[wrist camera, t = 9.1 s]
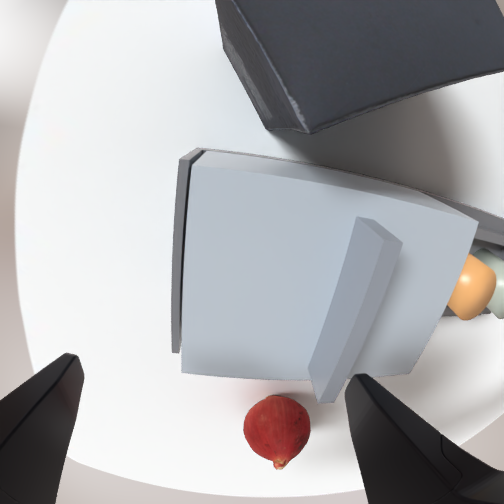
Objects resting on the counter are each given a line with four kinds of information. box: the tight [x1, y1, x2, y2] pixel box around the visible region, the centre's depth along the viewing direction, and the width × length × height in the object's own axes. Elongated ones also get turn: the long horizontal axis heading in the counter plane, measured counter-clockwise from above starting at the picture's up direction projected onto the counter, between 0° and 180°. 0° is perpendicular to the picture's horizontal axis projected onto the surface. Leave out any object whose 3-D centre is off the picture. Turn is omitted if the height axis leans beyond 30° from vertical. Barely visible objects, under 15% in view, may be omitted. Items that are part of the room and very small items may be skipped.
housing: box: [171, 148, 504, 353], centre depth 17 cm, size 28×10×6 cm, turn 82°
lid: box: [182, 151, 479, 403], centre depth 14 cm, size 14×10×8 cm
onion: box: [243, 395, 311, 470], centre depth 22 cm, size 6×6×8 cm
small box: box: [215, 0, 504, 134], centre depth 10 cm, size 11×6×10 cm, turn 116°
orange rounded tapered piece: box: [447, 253, 496, 320], centre depth 17 cm, size 4×4×5 cm
